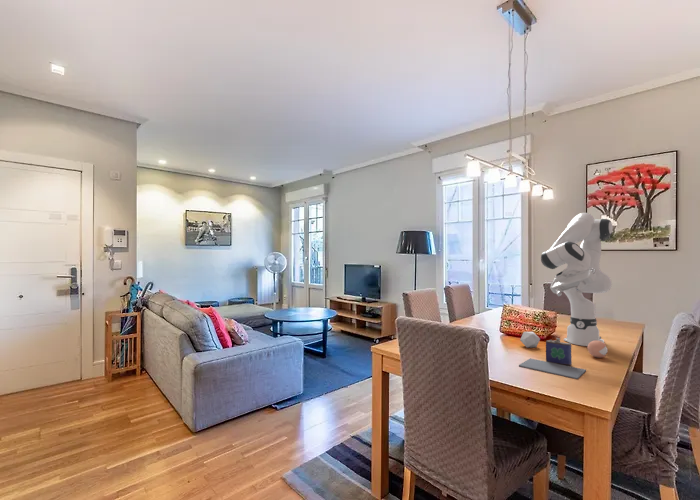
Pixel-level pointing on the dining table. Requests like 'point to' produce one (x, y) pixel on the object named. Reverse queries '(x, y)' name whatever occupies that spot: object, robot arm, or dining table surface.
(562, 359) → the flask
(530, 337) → the die
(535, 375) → the dining table surface
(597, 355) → the toy ball
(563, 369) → the mat
